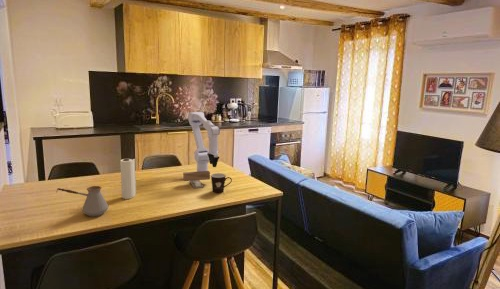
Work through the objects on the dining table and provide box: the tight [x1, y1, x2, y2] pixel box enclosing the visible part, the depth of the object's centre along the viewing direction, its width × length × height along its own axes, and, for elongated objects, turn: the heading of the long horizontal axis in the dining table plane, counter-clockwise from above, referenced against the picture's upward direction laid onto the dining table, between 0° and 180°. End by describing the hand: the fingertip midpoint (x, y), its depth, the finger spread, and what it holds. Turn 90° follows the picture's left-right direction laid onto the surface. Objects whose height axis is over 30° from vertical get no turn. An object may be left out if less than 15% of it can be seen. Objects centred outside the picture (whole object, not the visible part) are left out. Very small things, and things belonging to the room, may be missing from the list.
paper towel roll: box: [119, 158, 137, 200], centre depth 178 cm, size 7×6×21 cm
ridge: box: [189, 180, 205, 189], centre depth 206 cm, size 14×6×3 cm, turn 20°
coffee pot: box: [55, 185, 109, 217], centre depth 155 cm, size 21×12×15 cm, turn 120°
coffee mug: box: [210, 172, 233, 194], centre depth 193 cm, size 12×9×10 cm
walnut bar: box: [182, 170, 211, 182], centre depth 205 cm, size 4×16×4 cm, turn 110°
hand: (213, 165), depth 214 cm, fingers open, 7 cm apart
